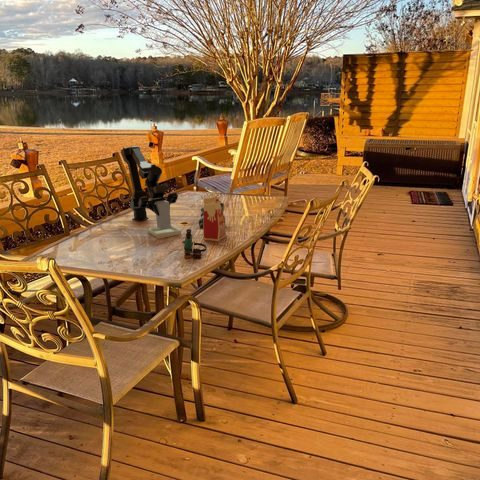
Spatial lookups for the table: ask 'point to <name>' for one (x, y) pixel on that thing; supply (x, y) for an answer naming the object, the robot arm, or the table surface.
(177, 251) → the butter knife
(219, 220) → the milk carton
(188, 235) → the binoculars
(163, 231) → the tray
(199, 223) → the lucky cat figurine
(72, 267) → the table surface
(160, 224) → the post
